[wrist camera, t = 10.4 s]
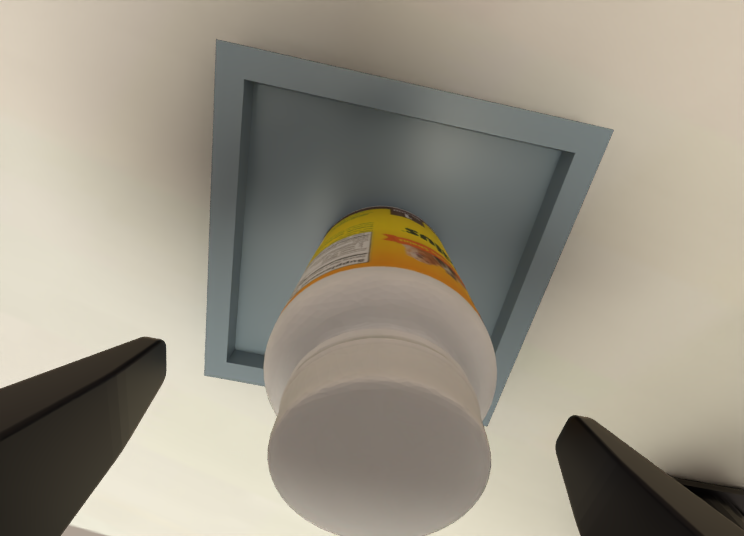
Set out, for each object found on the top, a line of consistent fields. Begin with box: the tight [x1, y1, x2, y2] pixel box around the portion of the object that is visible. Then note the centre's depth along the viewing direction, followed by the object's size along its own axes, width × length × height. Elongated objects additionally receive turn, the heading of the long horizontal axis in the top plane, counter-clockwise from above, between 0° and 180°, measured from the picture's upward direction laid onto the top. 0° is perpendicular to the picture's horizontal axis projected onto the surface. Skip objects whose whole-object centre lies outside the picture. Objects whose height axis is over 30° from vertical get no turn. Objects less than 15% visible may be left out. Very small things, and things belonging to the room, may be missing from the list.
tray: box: [204, 39, 614, 426], centre depth 16 cm, size 14×14×2 cm
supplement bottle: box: [264, 206, 497, 536], centre depth 11 cm, size 6×6×10 cm
